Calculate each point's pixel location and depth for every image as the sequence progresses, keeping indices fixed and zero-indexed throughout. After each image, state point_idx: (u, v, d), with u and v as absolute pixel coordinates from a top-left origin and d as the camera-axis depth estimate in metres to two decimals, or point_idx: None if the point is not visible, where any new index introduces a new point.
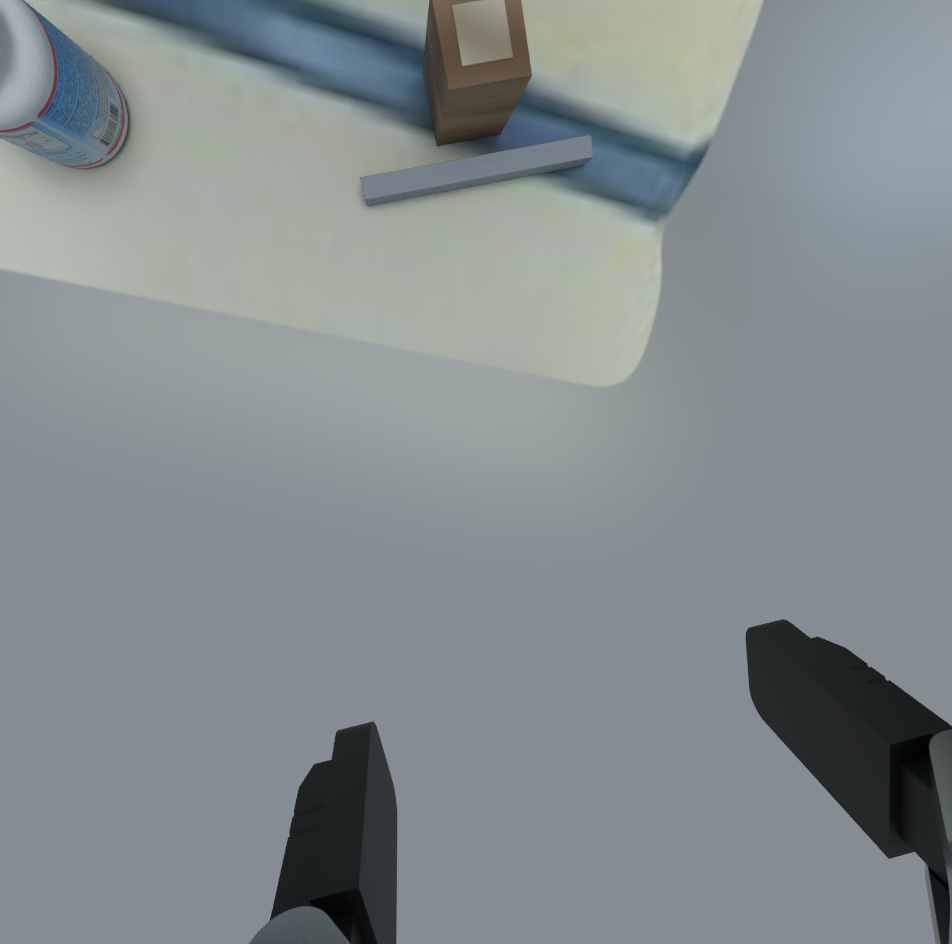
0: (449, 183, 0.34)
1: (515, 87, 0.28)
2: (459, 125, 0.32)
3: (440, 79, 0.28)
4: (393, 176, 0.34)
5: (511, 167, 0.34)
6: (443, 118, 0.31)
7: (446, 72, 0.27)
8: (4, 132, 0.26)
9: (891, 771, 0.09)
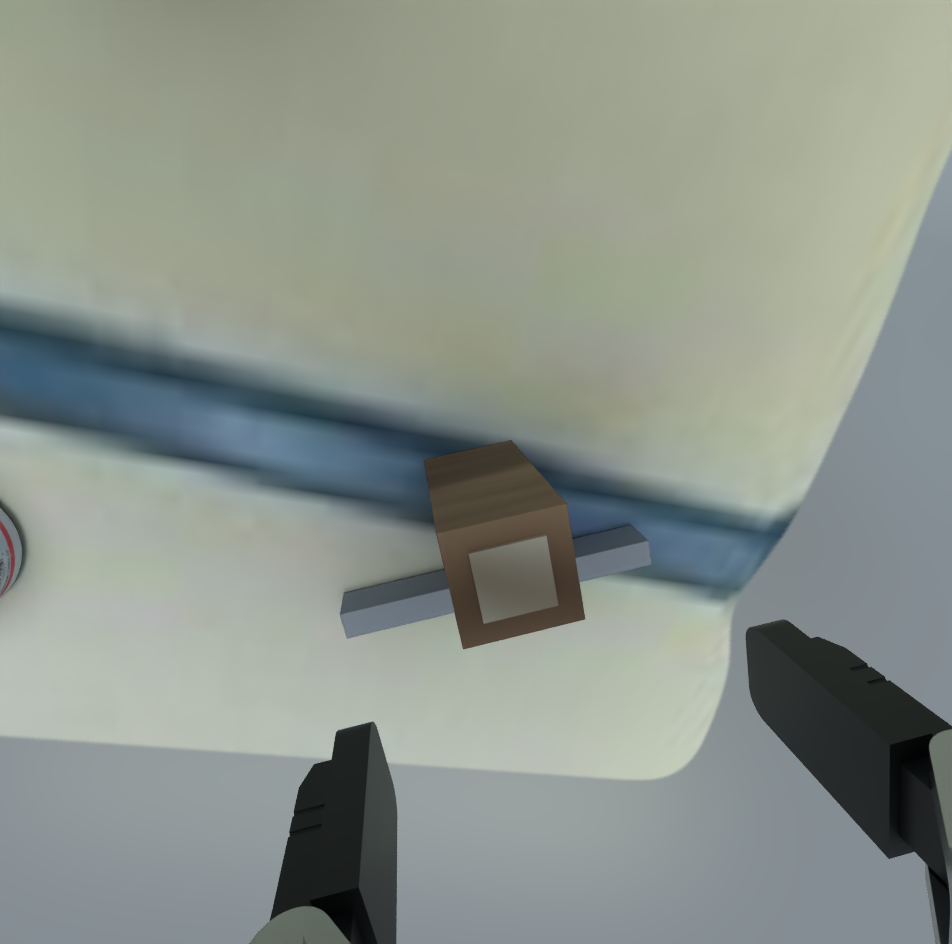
0: None
1: None
2: None
3: None
4: (384, 609, 0.25)
5: None
6: None
7: (459, 629, 0.18)
8: None
9: (891, 771, 0.09)
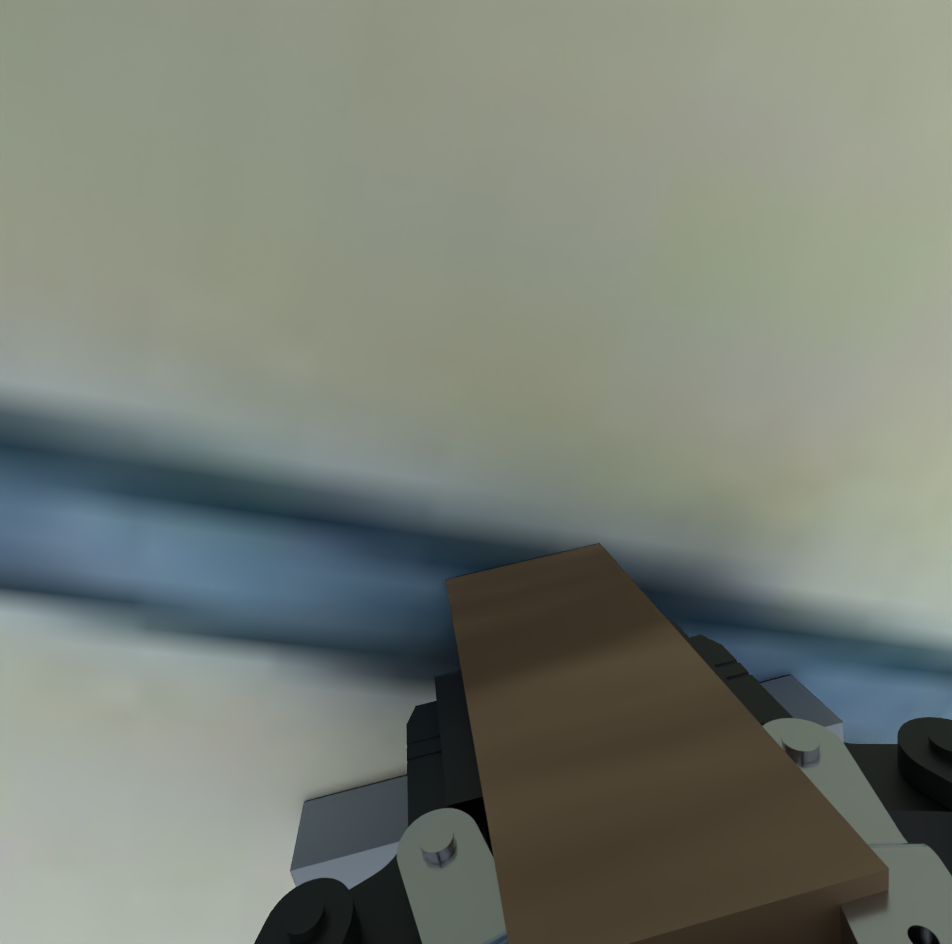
0: None
1: None
2: None
3: None
4: (371, 857, 0.14)
5: None
6: None
7: None
8: None
9: None
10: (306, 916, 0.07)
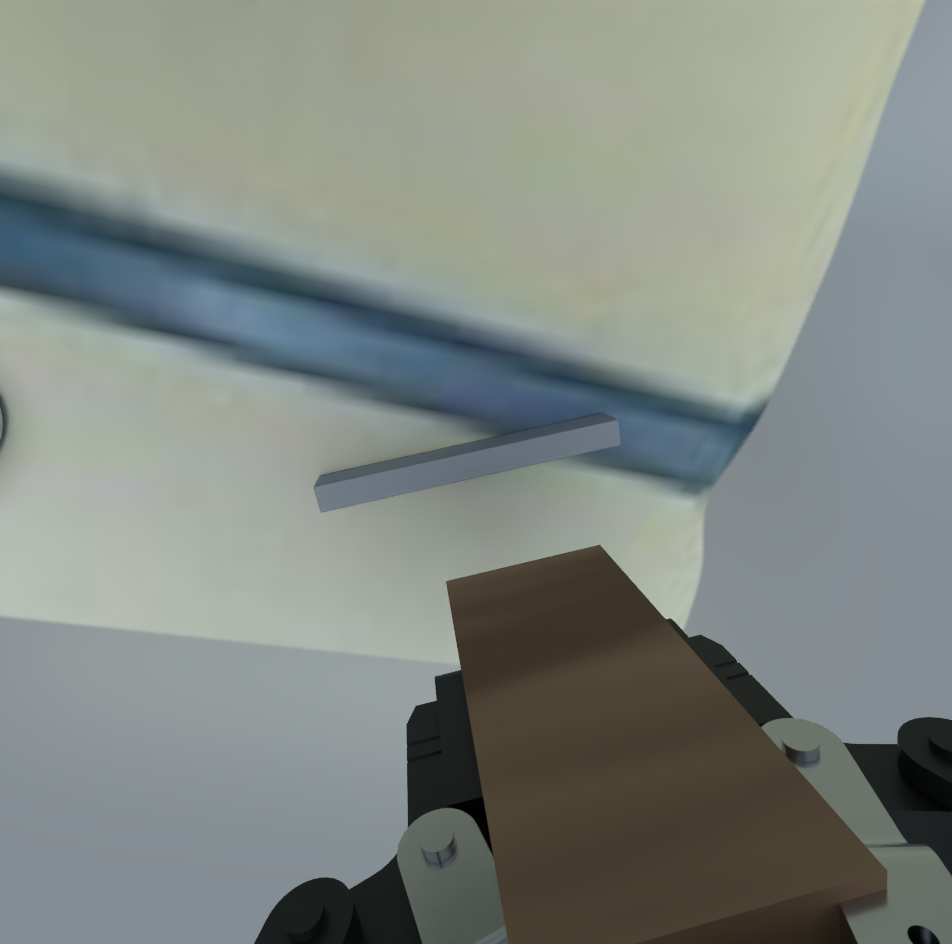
0: (432, 486, 0.26)
1: None
2: None
3: None
4: (357, 483, 0.25)
5: (513, 463, 0.26)
6: None
7: None
8: None
9: None
10: (306, 917, 0.07)
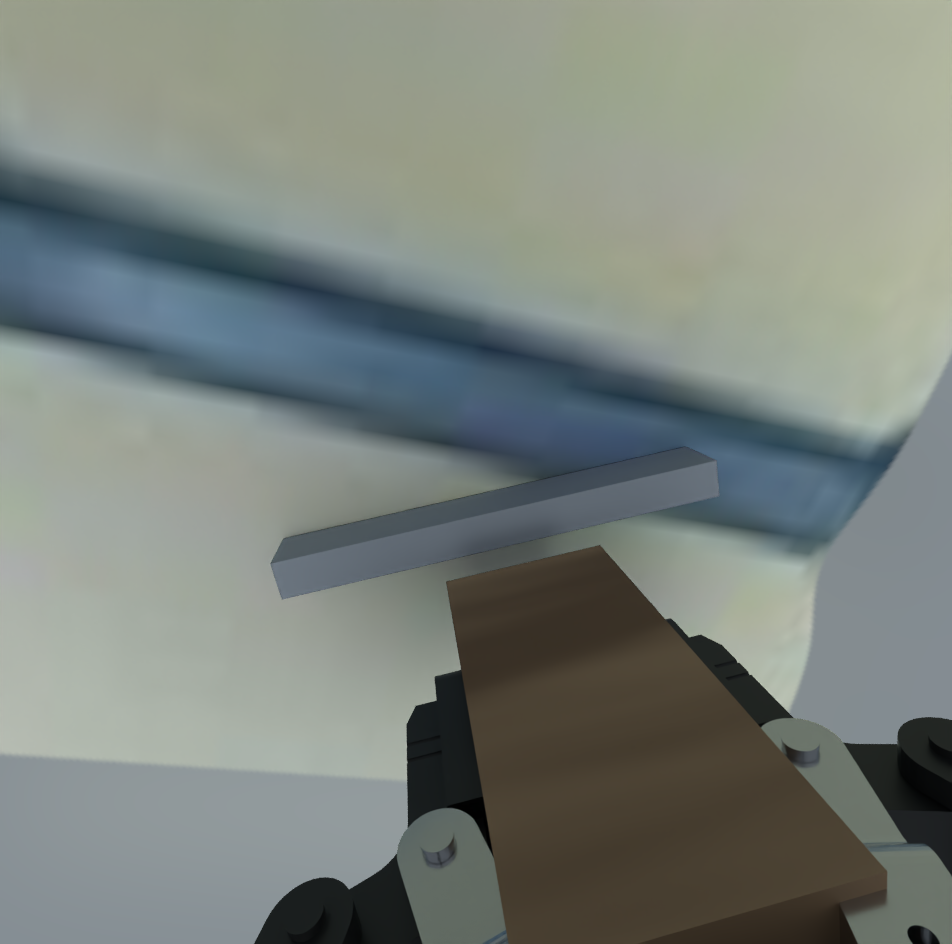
0: (446, 558, 0.18)
1: None
2: None
3: None
4: (335, 556, 0.17)
5: (565, 524, 0.18)
6: None
7: None
8: None
9: None
10: (307, 916, 0.07)
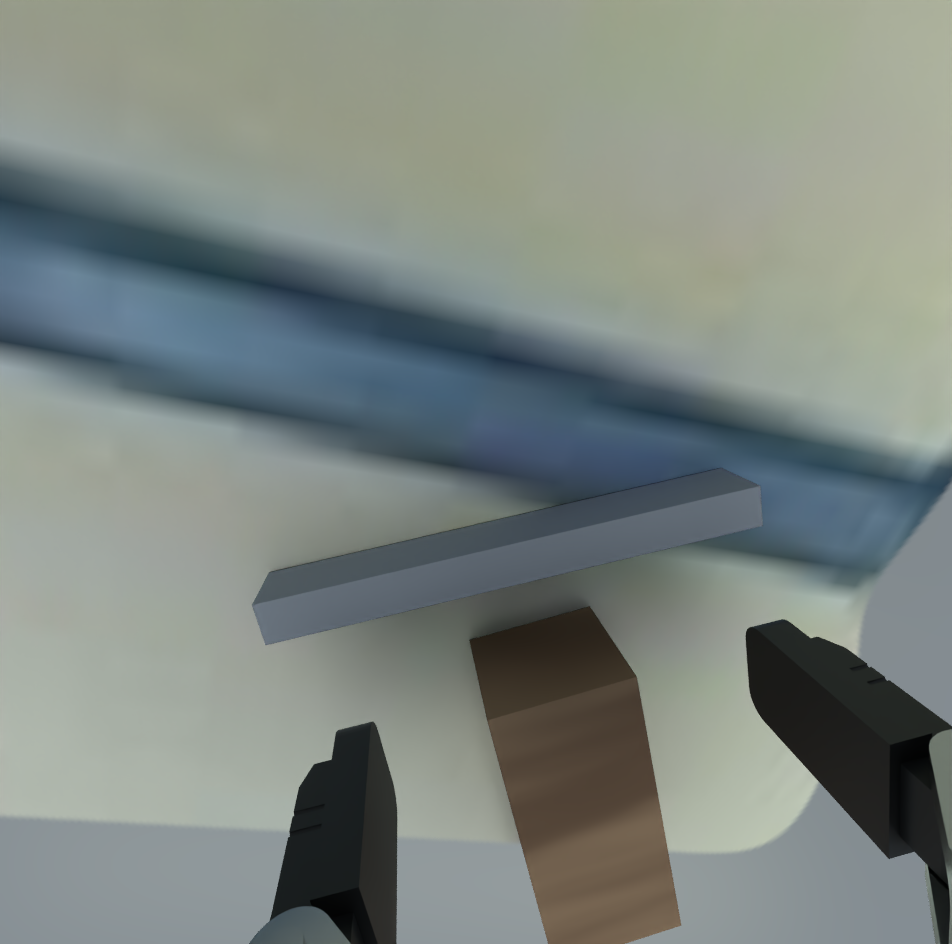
0: (453, 598, 0.16)
1: None
2: None
3: None
4: (327, 596, 0.15)
5: (588, 559, 0.16)
6: None
7: None
8: None
9: (891, 771, 0.09)
10: None
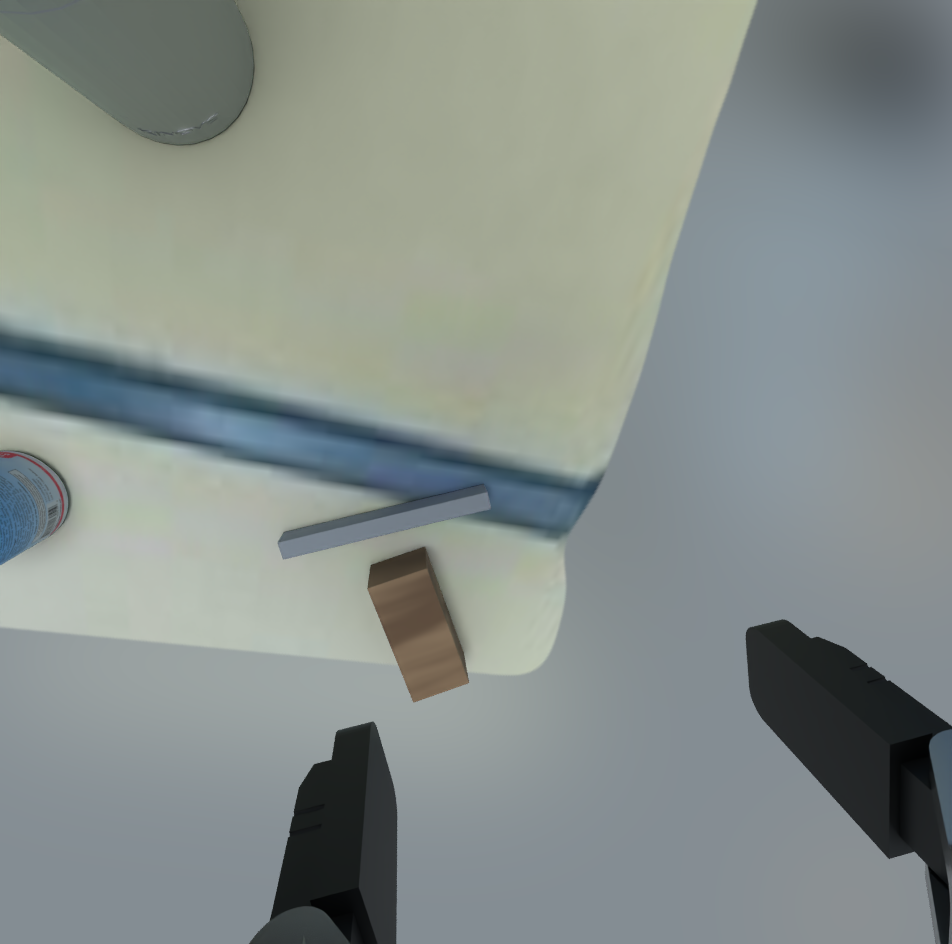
0: (359, 540, 0.38)
1: None
2: None
3: None
4: (307, 539, 0.37)
5: (416, 523, 0.38)
6: None
7: None
8: None
9: (891, 771, 0.09)
10: None
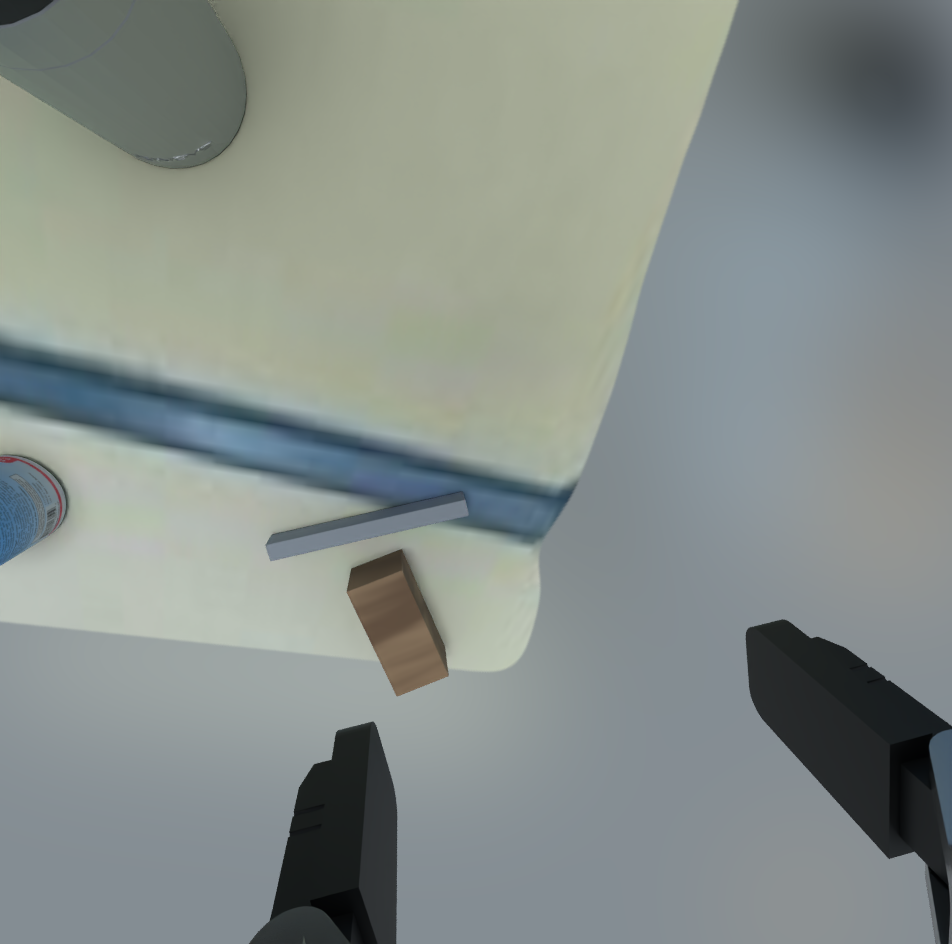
0: (343, 543, 0.40)
1: None
2: None
3: None
4: (294, 542, 0.39)
5: (397, 528, 0.40)
6: None
7: None
8: None
9: (891, 771, 0.09)
10: None
